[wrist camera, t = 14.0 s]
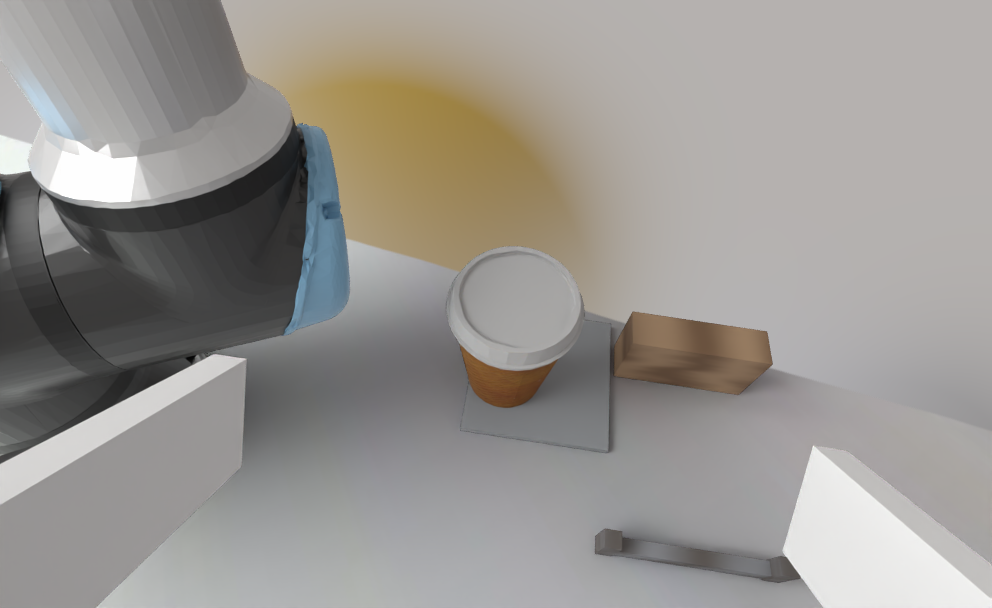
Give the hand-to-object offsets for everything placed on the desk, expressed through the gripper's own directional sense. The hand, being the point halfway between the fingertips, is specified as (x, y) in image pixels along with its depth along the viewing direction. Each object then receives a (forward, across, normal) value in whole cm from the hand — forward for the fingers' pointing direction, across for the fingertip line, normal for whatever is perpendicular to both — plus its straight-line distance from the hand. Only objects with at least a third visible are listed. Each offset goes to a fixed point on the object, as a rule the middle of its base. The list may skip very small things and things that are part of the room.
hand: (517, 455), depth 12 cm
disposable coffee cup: (+32, 0, -9) cm, 33 cm away
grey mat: (+33, +3, -9) cm, 34 cm away
